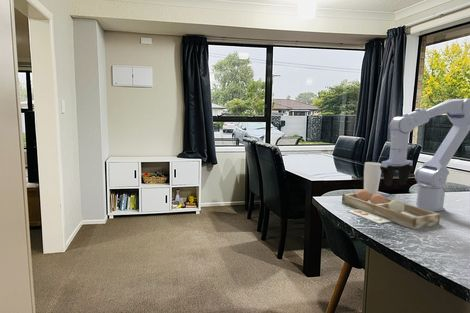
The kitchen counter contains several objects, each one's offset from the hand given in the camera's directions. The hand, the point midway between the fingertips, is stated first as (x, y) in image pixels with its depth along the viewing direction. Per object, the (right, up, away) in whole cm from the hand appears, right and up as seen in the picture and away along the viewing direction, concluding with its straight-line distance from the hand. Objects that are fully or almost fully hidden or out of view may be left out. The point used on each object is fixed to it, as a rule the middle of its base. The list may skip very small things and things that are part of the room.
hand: (395, 185), depth 121 cm
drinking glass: (-2, -7, +18) cm, 20 cm away
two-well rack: (-5, -10, -3) cm, 11 cm away
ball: (-9, -5, +6) cm, 12 cm away
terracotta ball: (-6, -6, 0) cm, 9 cm away
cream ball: (-3, -7, -7) cm, 10 cm away
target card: (-13, -10, -8) cm, 19 cm away
